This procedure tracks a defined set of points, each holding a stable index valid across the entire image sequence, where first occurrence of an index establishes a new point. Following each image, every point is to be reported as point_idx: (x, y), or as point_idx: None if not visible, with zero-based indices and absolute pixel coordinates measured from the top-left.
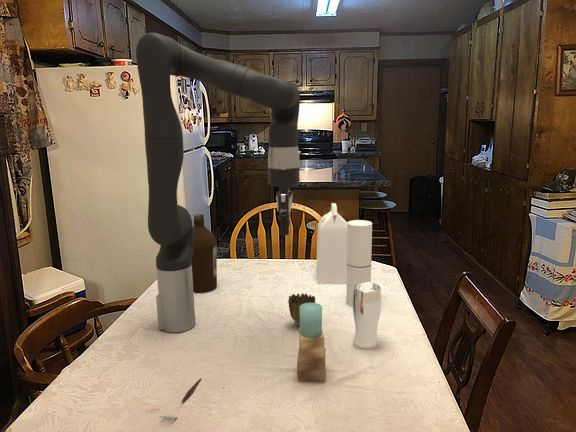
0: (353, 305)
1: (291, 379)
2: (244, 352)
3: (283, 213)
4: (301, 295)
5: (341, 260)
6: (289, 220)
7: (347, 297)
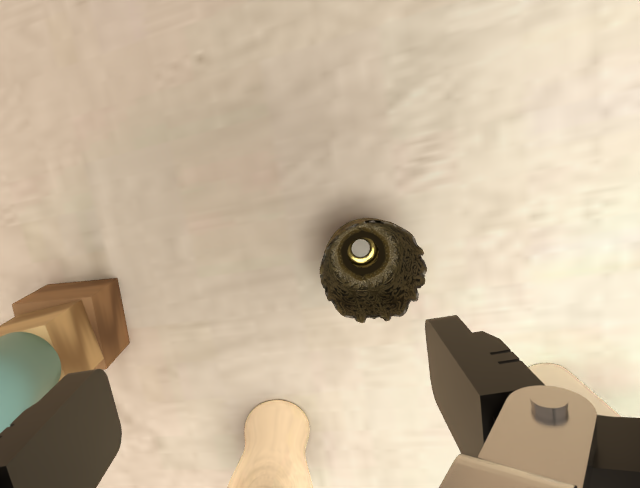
0: (245, 480)
1: (52, 268)
2: (156, 106)
3: (476, 420)
4: (420, 262)
5: None
6: (452, 430)
7: (540, 379)
